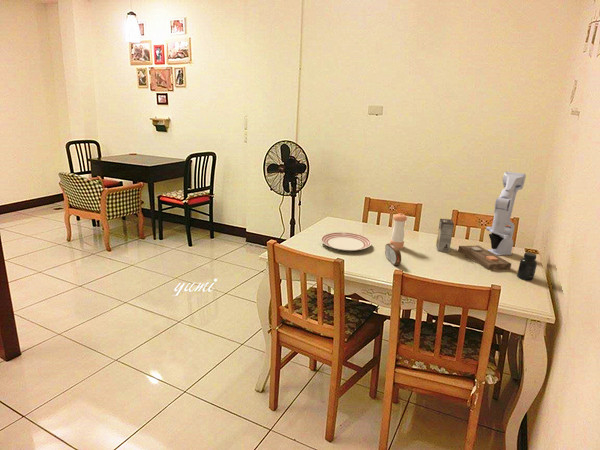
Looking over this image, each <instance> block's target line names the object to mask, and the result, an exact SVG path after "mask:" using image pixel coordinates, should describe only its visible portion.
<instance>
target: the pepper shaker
mask: <svg viewBox="0 0 600 450" xmlns="http://www.w3.org/2000/svg"><path fill="white" fill-rule="evenodd" d="M407 219H408V217H407V215H406V214H403V212H399V213H396V214H395V215H393V221H394V222H393V229H392V232H391V238H390V241H389V243H393V244H394V245H395V246H396V247H397V248H398V249H399V250H401V249H403V248H404V245H405V241H404V238H405V223H406V222H407Z"/></svg>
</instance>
